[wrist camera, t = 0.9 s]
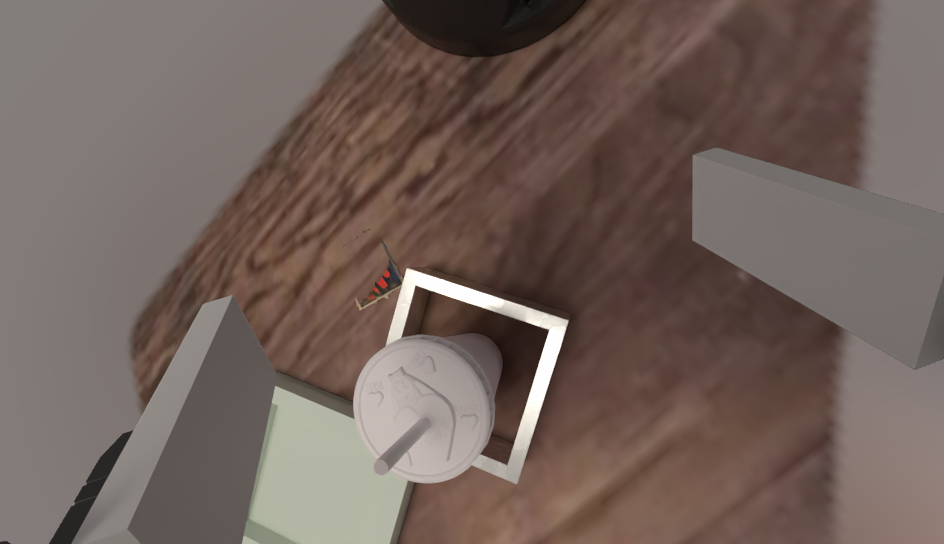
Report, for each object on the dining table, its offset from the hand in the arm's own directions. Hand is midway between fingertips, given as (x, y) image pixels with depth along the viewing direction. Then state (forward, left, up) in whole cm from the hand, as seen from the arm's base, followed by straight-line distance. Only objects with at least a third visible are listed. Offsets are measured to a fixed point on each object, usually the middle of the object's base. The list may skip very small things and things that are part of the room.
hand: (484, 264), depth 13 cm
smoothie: (+7, -2, -16) cm, 18 cm away
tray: (+19, -10, -16) cm, 26 cm away
